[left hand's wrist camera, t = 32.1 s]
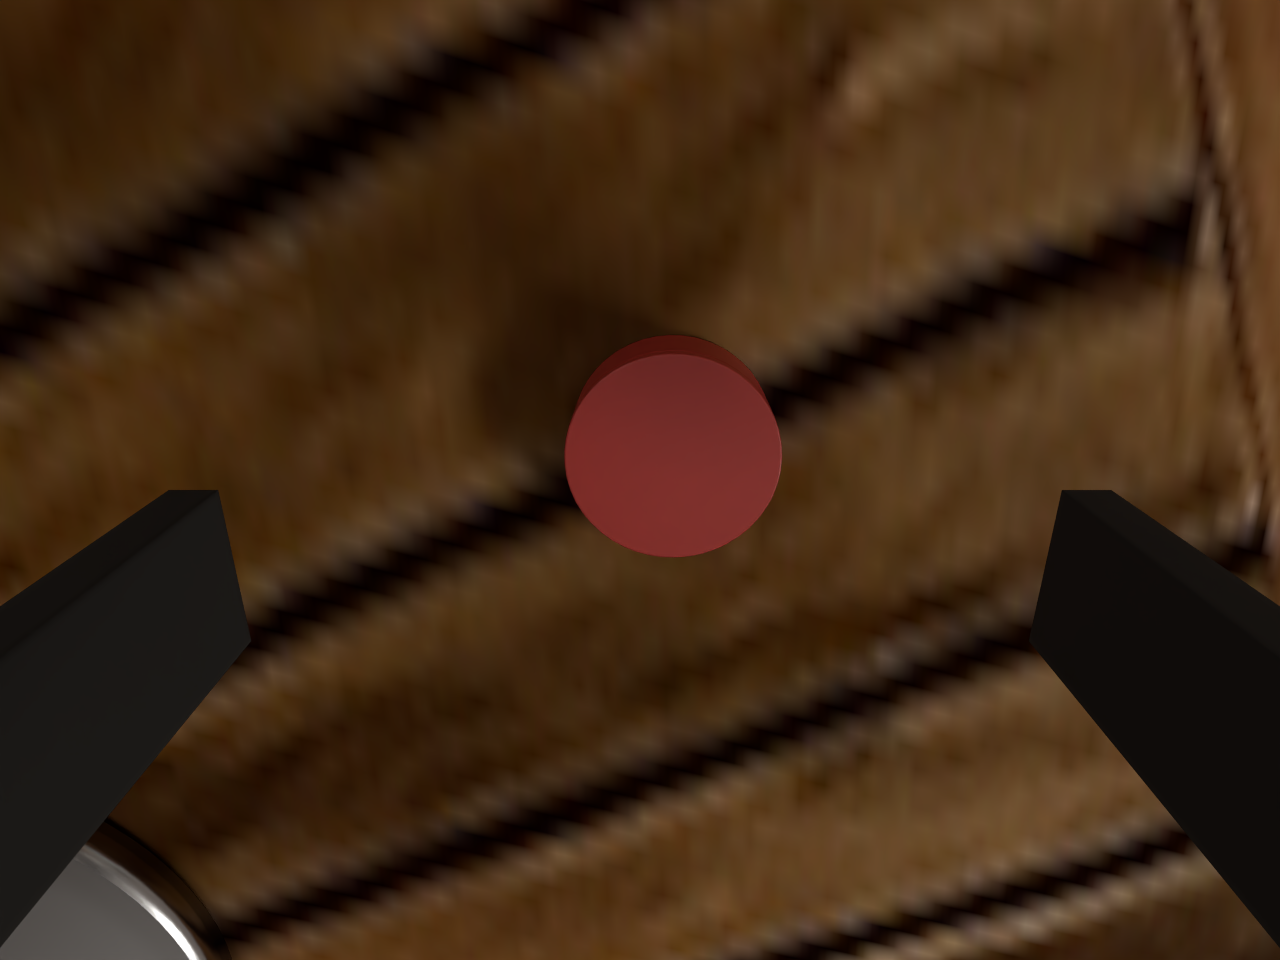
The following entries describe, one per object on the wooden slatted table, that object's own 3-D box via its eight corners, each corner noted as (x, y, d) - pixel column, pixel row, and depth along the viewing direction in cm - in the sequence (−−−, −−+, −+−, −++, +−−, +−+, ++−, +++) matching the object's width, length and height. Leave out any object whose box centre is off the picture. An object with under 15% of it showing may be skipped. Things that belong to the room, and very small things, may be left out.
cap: (540, 470, 18) (528, 501, 17) (628, 297, 17) (625, 313, 15) (709, 552, 19) (714, 589, 17) (808, 393, 18) (824, 418, 16)
